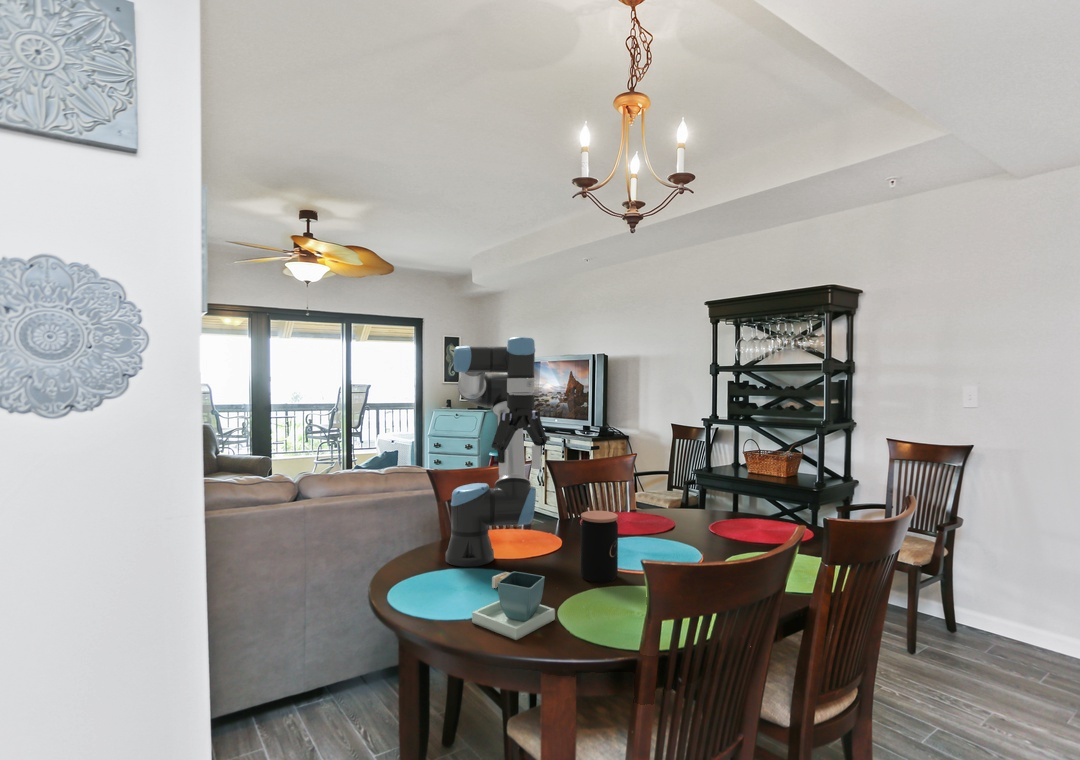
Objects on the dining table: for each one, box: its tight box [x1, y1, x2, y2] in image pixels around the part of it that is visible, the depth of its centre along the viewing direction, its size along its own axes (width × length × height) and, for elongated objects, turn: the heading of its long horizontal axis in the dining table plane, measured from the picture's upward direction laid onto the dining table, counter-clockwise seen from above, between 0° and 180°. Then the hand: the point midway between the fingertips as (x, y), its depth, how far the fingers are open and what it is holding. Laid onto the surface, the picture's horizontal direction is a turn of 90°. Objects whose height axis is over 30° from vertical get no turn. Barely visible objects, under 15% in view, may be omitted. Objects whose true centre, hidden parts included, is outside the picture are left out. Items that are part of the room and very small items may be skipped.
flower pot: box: [497, 571, 546, 622], centre depth 136 cm, size 9×9×9 cm
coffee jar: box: [580, 510, 619, 584], centre depth 164 cm, size 11×11×18 cm
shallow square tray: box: [471, 600, 556, 641], centre depth 134 cm, size 14×14×2 cm
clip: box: [491, 571, 511, 589], centre depth 154 cm, size 11×6×3 cm, turn 51°
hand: (520, 471), depth 156 cm, fingers open, 13 cm apart
